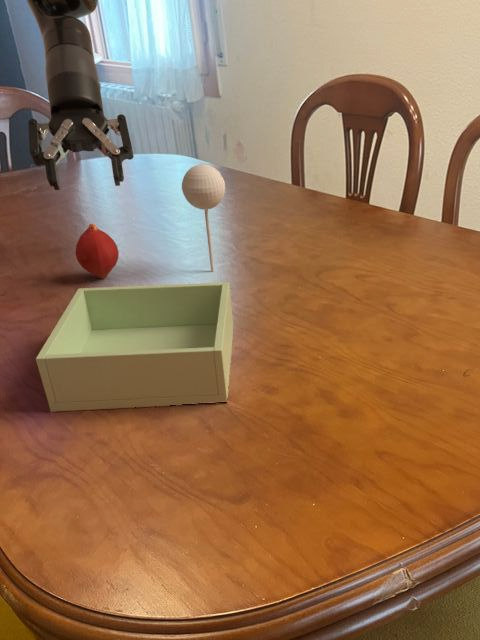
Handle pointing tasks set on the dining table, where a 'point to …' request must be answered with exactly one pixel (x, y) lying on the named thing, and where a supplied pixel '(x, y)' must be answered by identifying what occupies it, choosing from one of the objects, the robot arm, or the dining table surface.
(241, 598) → the dining table surface
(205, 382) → the bin
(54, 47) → the robot arm
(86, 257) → the red kuri squash
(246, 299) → the dining table surface
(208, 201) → the lollipop
